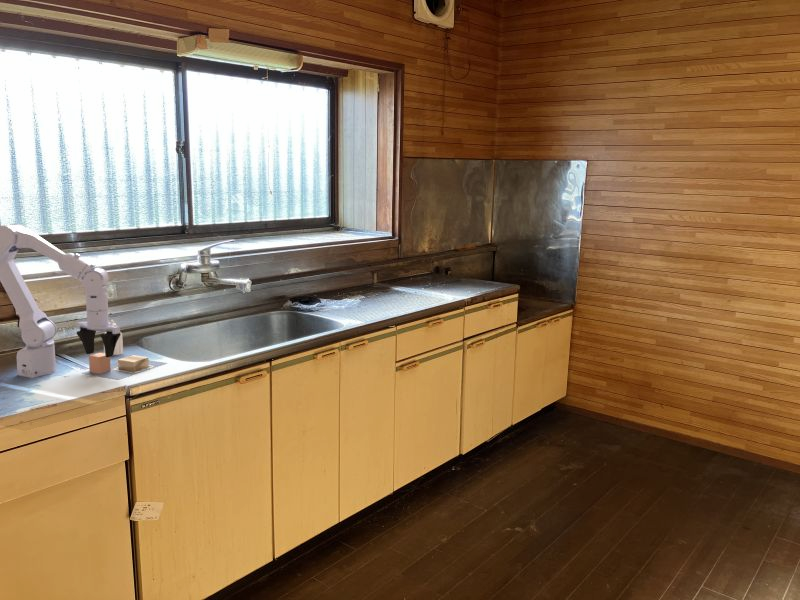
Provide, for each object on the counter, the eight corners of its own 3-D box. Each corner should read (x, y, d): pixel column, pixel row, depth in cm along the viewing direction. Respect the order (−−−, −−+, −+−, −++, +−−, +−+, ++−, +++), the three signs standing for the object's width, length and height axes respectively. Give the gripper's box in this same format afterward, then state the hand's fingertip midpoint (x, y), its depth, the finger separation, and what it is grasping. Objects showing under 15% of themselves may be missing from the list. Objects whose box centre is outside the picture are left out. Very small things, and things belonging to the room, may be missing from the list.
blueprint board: (118, 382, 181) (118, 379, 181) (81, 375, 186) (81, 372, 186) (167, 365, 200) (167, 362, 200) (132, 359, 205) (132, 357, 204)
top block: (100, 373, 186) (99, 357, 185) (89, 371, 188) (88, 355, 187) (110, 370, 190) (109, 354, 189) (100, 368, 191) (99, 352, 190)
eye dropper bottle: (112, 358, 205) (111, 322, 203) (102, 355, 208) (100, 319, 206) (125, 355, 209) (123, 320, 207) (114, 353, 212) (113, 317, 210)
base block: (134, 371, 189) (133, 362, 189) (118, 369, 191) (118, 359, 191) (148, 366, 195) (148, 357, 194) (133, 364, 197) (133, 355, 196)
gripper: (127, 309, 187) (129, 354, 189) (89, 305, 192) (92, 349, 194) (108, 313, 180) (110, 360, 183) (70, 309, 185) (72, 354, 188)
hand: (99, 354), depth 188 cm, fingers open, 7 cm apart
